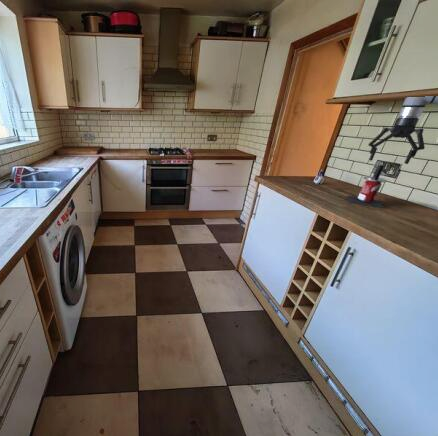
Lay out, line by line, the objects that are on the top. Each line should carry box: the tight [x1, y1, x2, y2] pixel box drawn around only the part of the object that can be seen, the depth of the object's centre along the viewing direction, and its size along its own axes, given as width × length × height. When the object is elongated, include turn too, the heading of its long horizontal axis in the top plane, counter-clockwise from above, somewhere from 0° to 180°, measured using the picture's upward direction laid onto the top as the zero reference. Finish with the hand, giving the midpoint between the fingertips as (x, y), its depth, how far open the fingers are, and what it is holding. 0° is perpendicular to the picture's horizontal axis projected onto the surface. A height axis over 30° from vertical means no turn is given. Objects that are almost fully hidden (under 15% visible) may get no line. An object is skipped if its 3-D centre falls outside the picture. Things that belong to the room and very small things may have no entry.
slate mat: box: [347, 195, 385, 209], centre depth 126 cm, size 14×12×1 cm
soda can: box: [357, 180, 383, 202], centre depth 123 cm, size 7×7×12 cm
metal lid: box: [363, 164, 388, 183], centre depth 119 cm, size 9×9×8 cm
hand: (387, 161), depth 118 cm, fingers open, 13 cm apart
